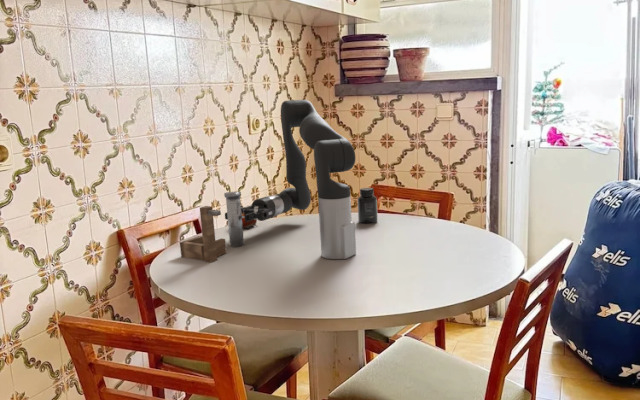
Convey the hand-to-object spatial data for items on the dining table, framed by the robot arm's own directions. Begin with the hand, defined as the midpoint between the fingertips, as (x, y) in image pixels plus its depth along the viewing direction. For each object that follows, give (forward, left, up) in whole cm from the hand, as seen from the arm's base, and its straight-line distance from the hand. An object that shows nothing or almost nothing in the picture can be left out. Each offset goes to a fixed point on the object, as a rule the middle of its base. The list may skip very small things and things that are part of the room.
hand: (235, 217), depth 178 cm
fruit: (+14, -21, -9) cm, 27 cm away
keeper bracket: (-1, +13, -9) cm, 16 cm away
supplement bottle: (-24, -43, -9) cm, 50 cm away
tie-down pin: (0, 0, -9) cm, 9 cm away
